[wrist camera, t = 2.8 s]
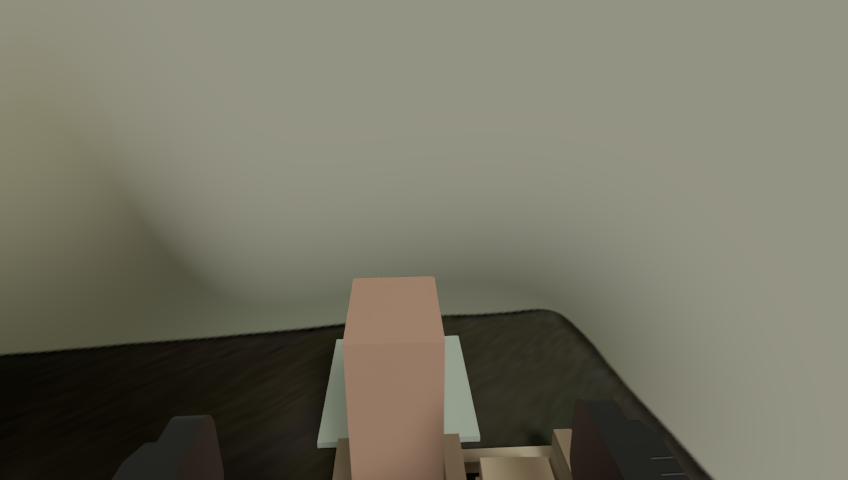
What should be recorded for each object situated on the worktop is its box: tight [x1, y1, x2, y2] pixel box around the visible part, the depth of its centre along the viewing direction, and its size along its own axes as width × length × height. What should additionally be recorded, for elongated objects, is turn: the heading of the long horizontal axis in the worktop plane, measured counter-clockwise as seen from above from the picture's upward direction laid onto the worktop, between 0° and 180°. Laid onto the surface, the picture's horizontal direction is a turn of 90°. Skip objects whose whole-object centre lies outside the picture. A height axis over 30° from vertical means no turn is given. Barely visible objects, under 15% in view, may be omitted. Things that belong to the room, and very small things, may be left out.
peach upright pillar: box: [342, 276, 445, 480], centre depth 26 cm, size 4×6×17 cm, turn 3°
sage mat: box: [317, 336, 480, 448], centre depth 45 cm, size 12×14×1 cm
